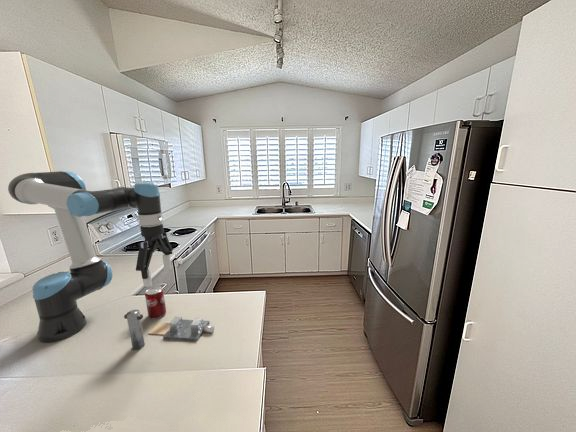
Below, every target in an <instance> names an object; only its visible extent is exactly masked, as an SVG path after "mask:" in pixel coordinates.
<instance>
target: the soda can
mask: <svg viewBox="0 0 576 432" xmlns="http://www.w3.org/2000/svg"><path fill="white" fill-rule="evenodd" d="M144 298H145V303H146V304H145V305H146V310H147V311H146V312H147V317H148V318H149V319H151V320H156V319H161V318H162V317H163V316H165V315H166V313H167V306H166V300H165V292H164V289H163V287H161V286H154V287H153V286H152V287H150V288H149V289H146V291H145V292H144Z"/></svg>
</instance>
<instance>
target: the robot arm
mask: <svg viewBox="0 0 576 432" xmlns="http://www.w3.org/2000/svg"><path fill="white" fill-rule="evenodd" d="M7 190H8V194H9V195H10V197H11V198H12V199H14V200H15V201H17V202H19V203H22V204H27V205H38V204H39V205H40V204H41V205H44V206H47V207H49V208H51V209H53V210H54V212H55V216H56V218H57V221H58V224H59V227H60V230H61V233H62V237H63V239H64V243H65V245H66V247H67V251H68V254H69V257H70V260H71V264H70V266H69V267H68V269H69V271H70V272H69V271H60V272H59V271H58V272H55V273H50V274H48V275H46V276H44V277H42V278H40V279H39V280H37V281H36V282H35V283H34V284H33V285H32V290H31V291H32V298H33V300H34V303H35V306H36V310H37V314H38V318H39V322H38V323H39V324H38V330H37V334H36V336H37V340H38V341H39V342H41V343H52V342H53V343H54V342H57V341H60V340H63V339H64V340H65V339H67V338H69V337H71V336H74V335H76V334H78V333H79V331H81V330H82V329H84V328H85V327H86V325H87V318H86V316H85V314H84V313H83V312H82V311H81V310H80V308H79V307H78V303H77V302H78V301H77V300H79V299H82V298H83V297H85V296H88V295H90V294H92V293H95V292H97V291H100V290H102V289H103V288H105V287H107V286H108V285H110V284H111V282H112V278H113V269H112V267H111V265H110V264H109V263H108V262H107V261H104V260H102V258H101V257H99V256H97V254H96V250H95V248H94V245H93V241H92V238H91V235H90V231H89V229H88V225H87V223H86V219H85V217H91V216H93V215H98V214H103V213H107V212H112V211H113V212H114V211H118V210H124V209H128V208H129V209H130V208H131V209H137V215H138V223H139V225H140V227H139V228H140V235H141V236H142V238H144V241H140V242H139V243H138V253H137V254H138V255H137V260H136V267H135V271H136V272H140V273H141V278H142V285H143V287H153V281H152V274H151V269H150V268H149V267H150V263H151V260H152V257H153V253H155V252H156V250H157V249H159V250H160V252H161V253H162V255H161V257H162V262H163V270H164V271H172V263H171V255H172V254H173V250H174V249H173V247H172V244H171V242H170V240H169V238H168V235H167V232H166V231H165V230H164V223H163V215H162V207H161V205H162V204H161V197H160V191H159V185H158V183H157V182H155V181H153V182H152V181H149V182H148V181H145V182H136V183H134V187H126V186H121V187H120V186H119V187H114V188H111V189H103V190H101V189H100V190H87V186H86V183H85V181H84V180H83V178H81V176H80V175H78V174H77V173H75V172H73V171H62V170H61V171H60V170H59V171H47V172H46V171H45V172H41V171H40V172H28V173H22V174H19V175H17V176H16V177H14V178H12V179H11V181H9V183H8V187H7Z"/></svg>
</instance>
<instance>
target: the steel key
mask: <svg viewBox="0 0 576 432" xmlns="http://www.w3.org/2000/svg"><path fill="white" fill-rule="evenodd" d="M140 313H141V312H140V310H139V309H131V310H129V311H128V312H127V313H125V314H124V315H123V318H124V319H126V321H127V325H128V331H129V337H130V342H131V348H132V350H133V351H138V350H141V349H142V348H144V347H145V344H146V343H145V337H144V332H143V326H142V325H143V324H142V319H143V318H144V316H143V314H140Z"/></svg>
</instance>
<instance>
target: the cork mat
mask: <svg viewBox="0 0 576 432" xmlns="http://www.w3.org/2000/svg"><path fill="white" fill-rule="evenodd" d="M169 323H170V322H158V323H157V324H156V325H155V326H154V327H153V328H152V329H151V330H150V331H149V332H148V335H153V336H154V335H156V336H164V335H165V334H166V332H167V331H168V330H169V329H170V327H169Z"/></svg>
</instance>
